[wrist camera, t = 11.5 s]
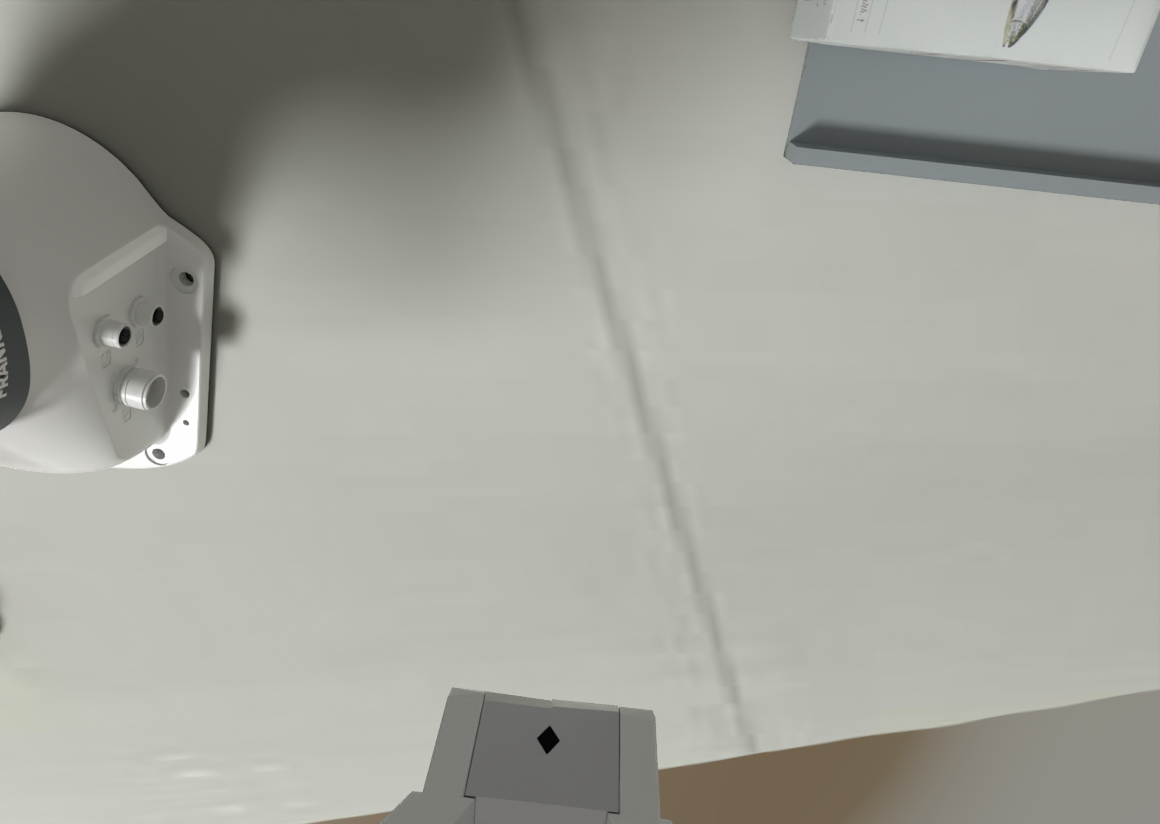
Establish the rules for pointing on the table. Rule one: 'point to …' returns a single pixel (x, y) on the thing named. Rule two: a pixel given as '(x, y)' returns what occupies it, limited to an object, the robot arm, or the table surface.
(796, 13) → the supplement box
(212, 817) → the table surface
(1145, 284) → the table surface
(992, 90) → the tray
